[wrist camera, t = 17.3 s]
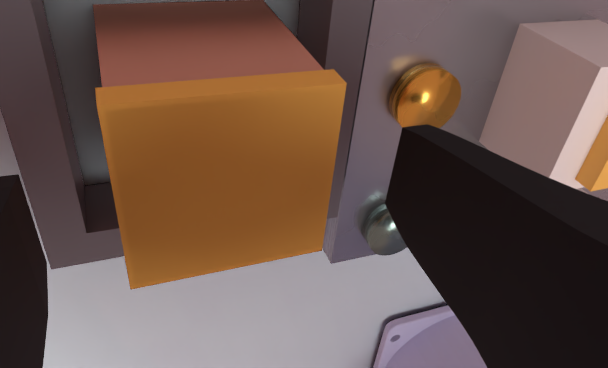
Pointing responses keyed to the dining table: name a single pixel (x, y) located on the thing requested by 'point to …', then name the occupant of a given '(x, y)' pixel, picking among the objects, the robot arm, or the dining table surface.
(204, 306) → the dining table surface
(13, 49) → the socket
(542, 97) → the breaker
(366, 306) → the dining table surface
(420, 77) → the panel
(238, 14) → the copper lidded box
